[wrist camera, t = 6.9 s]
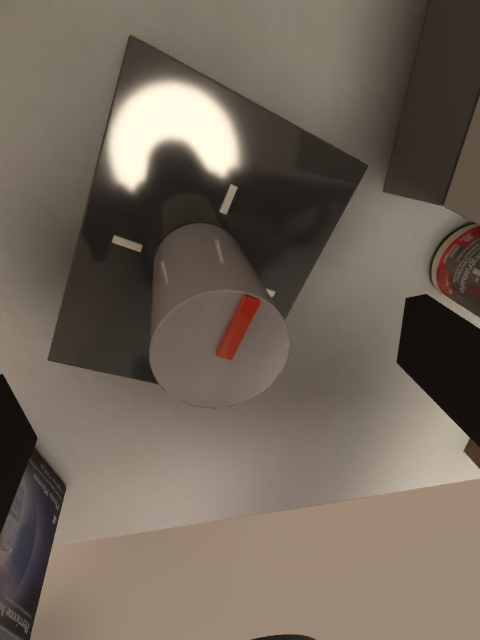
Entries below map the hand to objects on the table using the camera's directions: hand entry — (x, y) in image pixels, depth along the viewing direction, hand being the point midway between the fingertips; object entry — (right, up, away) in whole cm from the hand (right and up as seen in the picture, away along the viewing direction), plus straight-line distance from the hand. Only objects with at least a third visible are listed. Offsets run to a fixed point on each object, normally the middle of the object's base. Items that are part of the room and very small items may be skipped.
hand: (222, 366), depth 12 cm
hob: (-2, +6, +10) cm, 11 cm away
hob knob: (-1, +4, +7) cm, 8 cm away
